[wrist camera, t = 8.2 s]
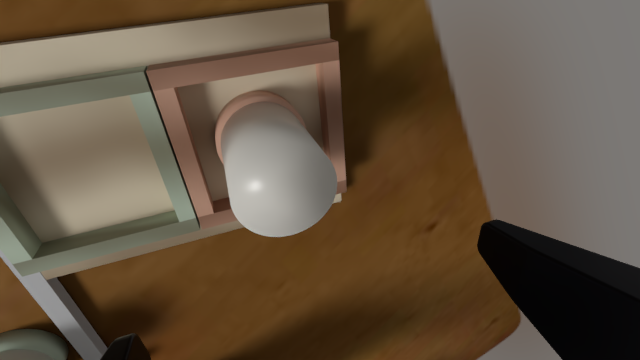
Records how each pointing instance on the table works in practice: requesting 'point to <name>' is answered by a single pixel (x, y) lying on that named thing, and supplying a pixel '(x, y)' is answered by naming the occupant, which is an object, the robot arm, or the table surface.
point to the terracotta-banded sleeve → (272, 165)
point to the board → (146, 130)
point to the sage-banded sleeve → (32, 345)
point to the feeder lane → (62, 312)
